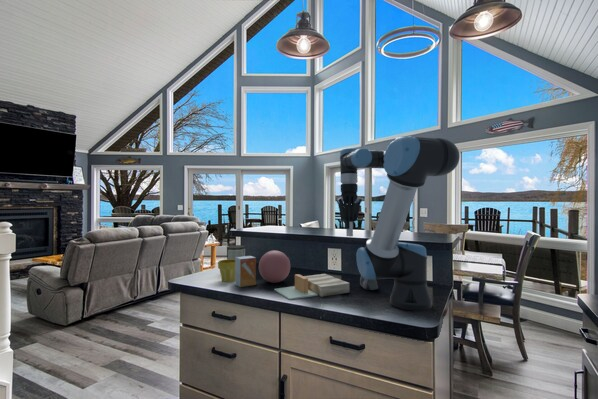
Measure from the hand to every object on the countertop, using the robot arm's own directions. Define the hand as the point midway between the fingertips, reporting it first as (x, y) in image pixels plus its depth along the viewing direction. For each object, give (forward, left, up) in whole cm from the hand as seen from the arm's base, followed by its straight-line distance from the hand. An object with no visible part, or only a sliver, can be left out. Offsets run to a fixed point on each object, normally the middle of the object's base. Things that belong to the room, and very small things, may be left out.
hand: (349, 236), depth 144 cm
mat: (+6, +24, -24) cm, 34 cm away
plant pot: (+41, +44, -24) cm, 65 cm away
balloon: (+28, +23, -24) cm, 43 cm away
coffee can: (+60, +35, -24) cm, 73 cm away
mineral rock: (-1, -10, -24) cm, 26 cm away
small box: (+29, +39, -24) cm, 54 cm away
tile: (+6, +20, -20) cm, 29 cm away
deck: (+6, +10, -24) cm, 26 cm away
